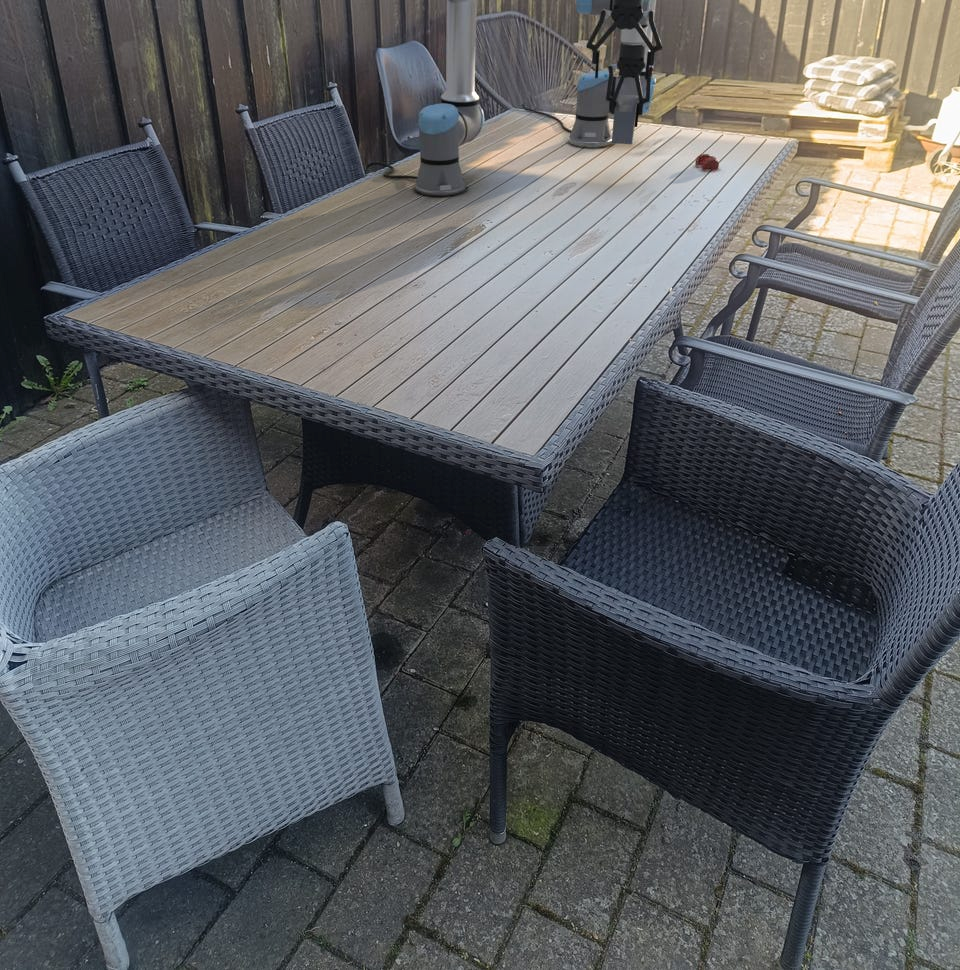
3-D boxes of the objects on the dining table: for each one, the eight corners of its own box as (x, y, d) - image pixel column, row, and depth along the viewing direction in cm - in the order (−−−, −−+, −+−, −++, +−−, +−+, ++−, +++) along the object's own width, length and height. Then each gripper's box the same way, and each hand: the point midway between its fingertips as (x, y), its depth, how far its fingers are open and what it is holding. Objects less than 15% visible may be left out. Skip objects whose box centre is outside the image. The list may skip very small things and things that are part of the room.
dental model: (710, 150, 279) (721, 156, 273) (708, 163, 282) (719, 170, 275) (694, 152, 278) (705, 158, 272) (693, 165, 281) (704, 172, 274)
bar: (631, 144, 247) (635, 112, 242) (611, 143, 248) (614, 111, 243) (635, 125, 265) (638, 95, 260) (616, 124, 266) (618, 94, 261)
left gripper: (677, -12, 221) (666, 76, 233) (582, -14, 224) (576, 74, 236) (678, -9, 215) (667, 81, 227) (580, -11, 218) (575, 79, 230)
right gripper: (665, 41, 251) (656, 124, 264) (601, 40, 254) (595, 121, 267) (665, 46, 245) (655, 130, 258) (600, 44, 248) (593, 127, 261)
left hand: (621, 78), depth 232 cm, fingers open, 13 cm apart
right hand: (625, 125), depth 263 cm, fingers closed on bar, 6 cm apart
